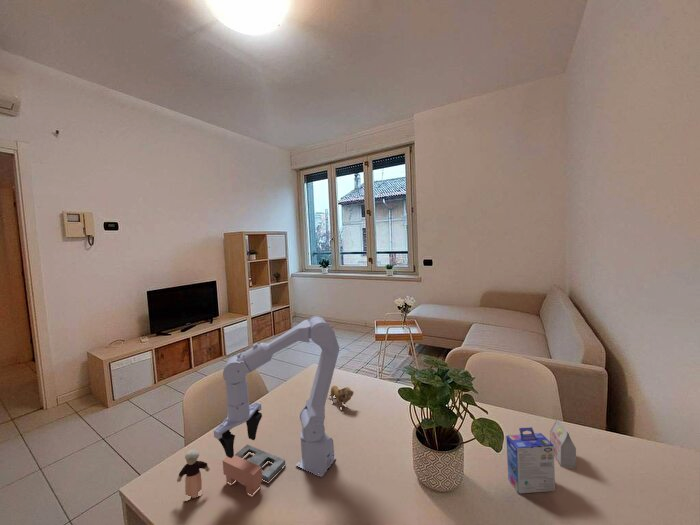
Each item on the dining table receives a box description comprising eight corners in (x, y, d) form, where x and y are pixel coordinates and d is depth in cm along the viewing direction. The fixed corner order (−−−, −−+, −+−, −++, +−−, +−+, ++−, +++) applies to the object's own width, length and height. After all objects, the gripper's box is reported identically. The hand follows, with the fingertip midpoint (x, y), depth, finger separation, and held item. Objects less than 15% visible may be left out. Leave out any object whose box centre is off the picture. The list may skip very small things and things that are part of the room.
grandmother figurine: (179, 508, 73) (175, 461, 72) (178, 498, 76) (174, 453, 75) (212, 492, 77) (208, 447, 76) (209, 482, 80) (206, 440, 80)
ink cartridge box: (541, 474, 78) (540, 423, 77) (556, 491, 72) (556, 437, 71) (505, 476, 78) (505, 426, 77) (518, 494, 72) (517, 440, 71)
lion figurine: (356, 408, 113) (355, 386, 113) (346, 414, 110) (345, 392, 109) (332, 395, 124) (331, 375, 123) (322, 401, 120) (321, 380, 120)
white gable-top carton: (564, 451, 86) (564, 419, 85) (575, 468, 79) (576, 434, 79) (550, 449, 87) (550, 418, 86) (560, 466, 80) (560, 432, 80)
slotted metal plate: (285, 466, 85) (285, 459, 85) (268, 484, 79) (268, 477, 79) (247, 450, 93) (247, 444, 93) (229, 465, 87) (229, 459, 86)
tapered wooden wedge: (263, 489, 77) (261, 467, 77) (254, 498, 75) (253, 475, 74) (233, 474, 83) (231, 453, 83) (224, 482, 80) (222, 460, 80)
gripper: (248, 385, 87) (251, 428, 88) (204, 411, 75) (208, 460, 76) (265, 390, 84) (268, 434, 85) (222, 417, 71) (226, 469, 72)
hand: (241, 447), depth 80 cm, fingers open, 7 cm apart
